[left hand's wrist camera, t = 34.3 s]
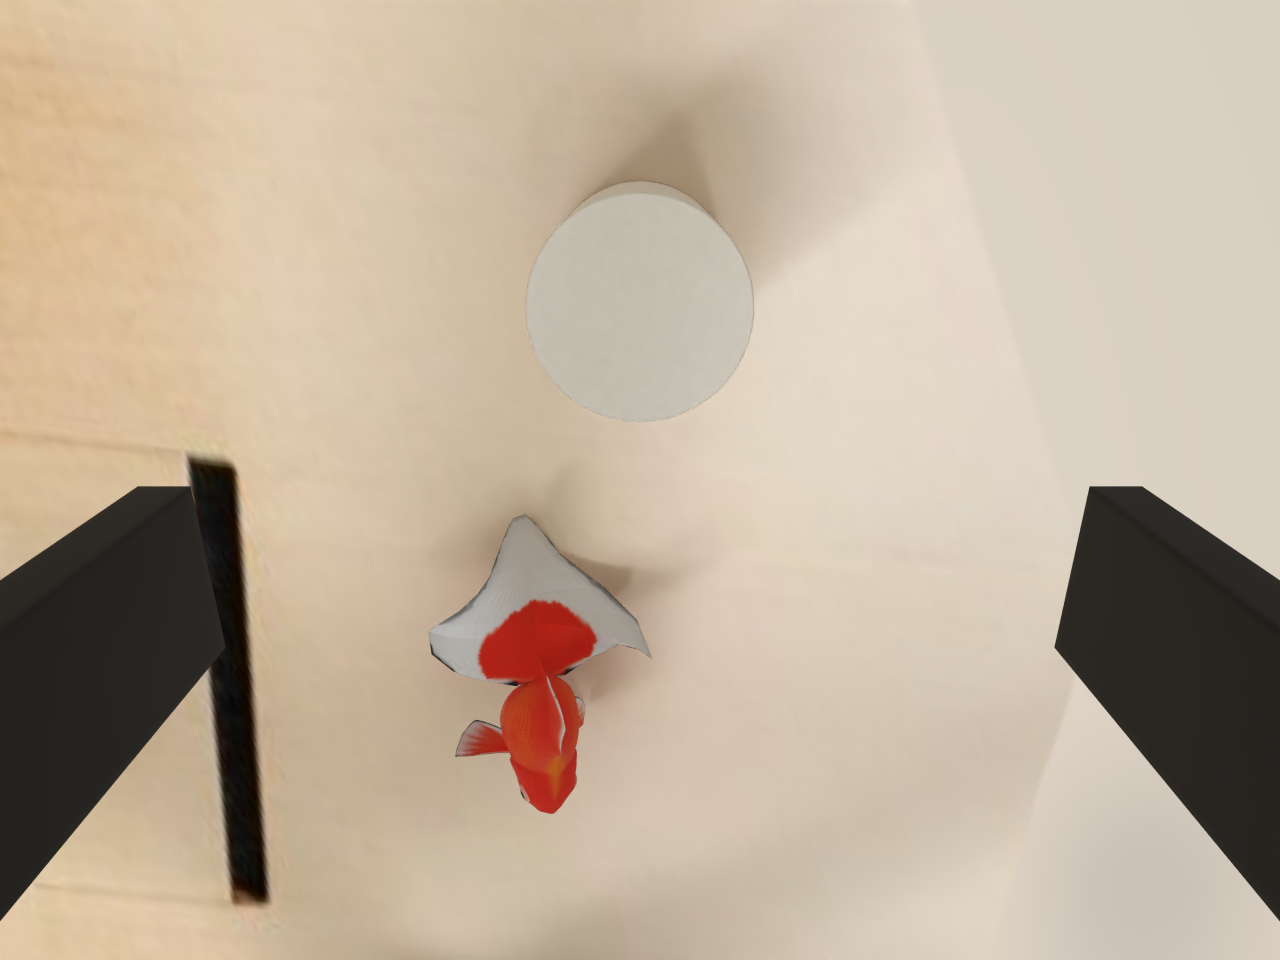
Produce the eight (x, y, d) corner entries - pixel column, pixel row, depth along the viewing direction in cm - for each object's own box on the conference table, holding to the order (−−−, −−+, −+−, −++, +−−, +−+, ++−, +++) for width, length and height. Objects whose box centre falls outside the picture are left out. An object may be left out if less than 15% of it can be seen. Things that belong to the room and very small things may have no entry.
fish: (382, 779, 46) (414, 855, 37) (434, 499, 47) (477, 506, 38) (564, 784, 50) (632, 853, 41) (608, 528, 51) (683, 541, 42)
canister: (623, 395, 43) (619, 463, 34) (514, 258, 40) (477, 291, 31) (763, 292, 41) (798, 334, 32) (657, 140, 38) (663, 139, 29)
